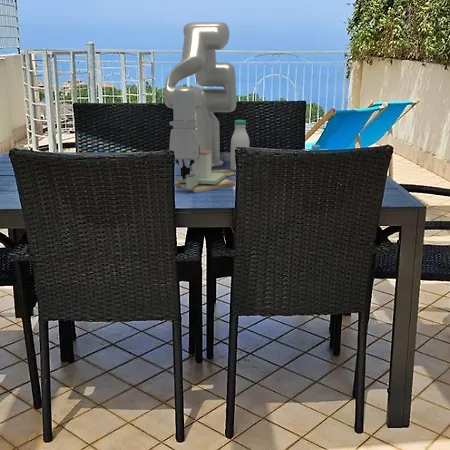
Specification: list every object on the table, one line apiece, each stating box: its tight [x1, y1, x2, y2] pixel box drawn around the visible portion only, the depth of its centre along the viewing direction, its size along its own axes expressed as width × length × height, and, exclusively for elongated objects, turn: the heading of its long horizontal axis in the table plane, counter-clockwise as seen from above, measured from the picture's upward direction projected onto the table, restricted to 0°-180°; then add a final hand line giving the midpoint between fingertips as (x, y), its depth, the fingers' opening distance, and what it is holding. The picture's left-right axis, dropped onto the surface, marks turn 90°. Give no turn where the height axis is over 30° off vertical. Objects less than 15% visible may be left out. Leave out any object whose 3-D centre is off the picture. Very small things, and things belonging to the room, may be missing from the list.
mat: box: [211, 169, 235, 178], centre depth 242 cm, size 12×12×1 cm
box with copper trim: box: [191, 150, 213, 178], centre depth 222 cm, size 6×8×9 cm
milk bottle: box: [230, 119, 251, 172], centre depth 247 cm, size 8×8×20 cm
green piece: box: [176, 171, 226, 190], centre depth 219 cm, size 14×22×5 cm, turn 164°
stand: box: [174, 178, 236, 193], centre depth 223 cm, size 18×18×2 cm
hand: (185, 178), depth 213 cm, fingers closed
